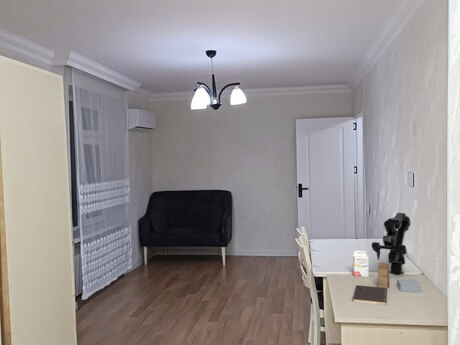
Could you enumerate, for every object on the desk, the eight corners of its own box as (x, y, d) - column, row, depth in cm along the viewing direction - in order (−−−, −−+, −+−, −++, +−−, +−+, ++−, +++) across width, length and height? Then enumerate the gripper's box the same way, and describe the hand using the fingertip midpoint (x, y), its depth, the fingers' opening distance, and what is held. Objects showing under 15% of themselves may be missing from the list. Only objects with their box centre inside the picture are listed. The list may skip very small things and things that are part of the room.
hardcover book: (352, 302, 231) (352, 298, 231) (356, 289, 253) (356, 285, 253) (386, 306, 226) (386, 301, 226) (386, 292, 248) (387, 287, 247)
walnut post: (380, 285, 258) (380, 262, 257) (389, 286, 255) (389, 263, 254) (377, 287, 254) (377, 264, 253) (387, 289, 251) (387, 265, 250)
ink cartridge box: (354, 276, 276) (354, 252, 275) (352, 274, 281) (352, 250, 280) (368, 276, 275) (368, 252, 274) (367, 274, 280) (367, 250, 279)
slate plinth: (396, 286, 256) (396, 279, 256) (415, 286, 254) (415, 279, 254) (400, 291, 246) (400, 284, 246) (420, 292, 245) (420, 285, 244)
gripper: (372, 228, 269) (366, 251, 260) (405, 231, 259) (401, 255, 250) (376, 238, 276) (370, 261, 268) (408, 242, 266) (404, 265, 258)
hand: (386, 260), depth 261 cm, fingers open, 9 cm apart
